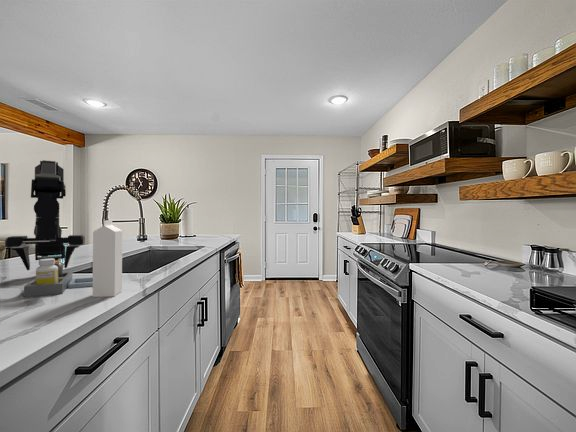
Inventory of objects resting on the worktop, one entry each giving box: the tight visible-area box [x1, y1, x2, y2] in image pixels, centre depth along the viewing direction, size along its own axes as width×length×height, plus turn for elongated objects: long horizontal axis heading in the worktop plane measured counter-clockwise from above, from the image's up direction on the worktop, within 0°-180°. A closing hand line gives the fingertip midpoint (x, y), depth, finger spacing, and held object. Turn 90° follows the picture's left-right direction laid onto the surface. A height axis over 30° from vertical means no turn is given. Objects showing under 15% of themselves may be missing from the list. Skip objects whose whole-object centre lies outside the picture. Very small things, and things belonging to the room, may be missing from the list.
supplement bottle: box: [35, 258, 58, 285], centre depth 97 cm, size 5×5×10 cm
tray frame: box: [67, 276, 93, 289], centre depth 108 cm, size 10×10×1 cm
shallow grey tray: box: [23, 259, 73, 298], centre depth 101 cm, size 20×9×8 cm, turn 27°
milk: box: [92, 219, 123, 298], centre depth 95 cm, size 6×6×22 cm
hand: (47, 269), depth 97 cm, fingers open, 9 cm apart
